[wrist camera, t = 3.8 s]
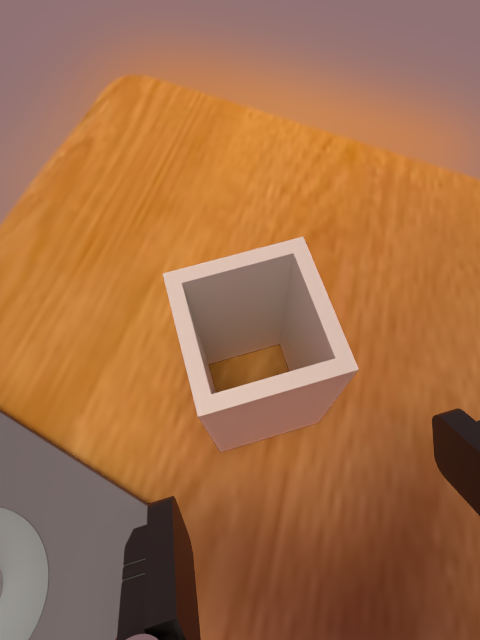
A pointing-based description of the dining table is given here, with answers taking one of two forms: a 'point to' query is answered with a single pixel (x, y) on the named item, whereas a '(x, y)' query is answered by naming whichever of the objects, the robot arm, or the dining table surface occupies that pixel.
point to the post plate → (59, 541)
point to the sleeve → (260, 340)
